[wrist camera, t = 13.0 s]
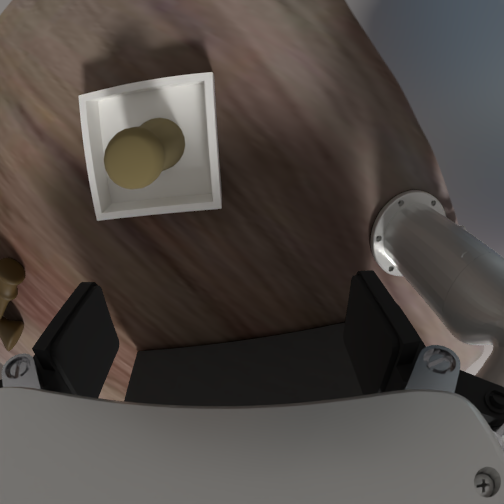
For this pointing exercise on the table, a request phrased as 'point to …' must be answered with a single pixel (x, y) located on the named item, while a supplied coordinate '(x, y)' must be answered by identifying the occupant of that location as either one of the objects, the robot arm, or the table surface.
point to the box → (134, 115)
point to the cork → (143, 153)
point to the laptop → (248, 371)
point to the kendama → (3, 290)
